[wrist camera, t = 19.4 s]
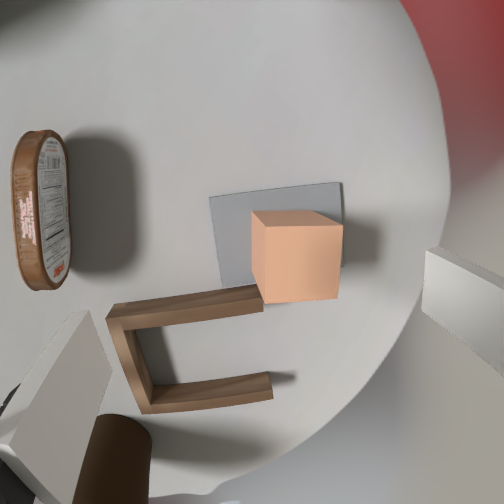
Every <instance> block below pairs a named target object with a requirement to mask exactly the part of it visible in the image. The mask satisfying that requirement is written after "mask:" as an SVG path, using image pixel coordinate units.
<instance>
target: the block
mask: <svg viewBox="0 0 504 504" xmlns="http://www.w3.org/2000/svg"><path fill="white" fill-rule="evenodd" d="M251 218H252V273H253V276H254V278H255V281H256V283H257V286H258V288H259V291H260V293H261V296H262V298H263V301H264V303H265V304H270V303H286V302H300V301H313V300H326V299H337V298H338V288H339V277H340V266H341V253H342V238H343V225H341V224H339V223H337V222H335V221H333V220H331V219H329V218H327V217H325V216H323V215H320V214H318V213H316V212H314V211H312V210H287V211H251Z"/></svg>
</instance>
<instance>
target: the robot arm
mask: <svg viewBox="0 0 504 504" xmlns="http://www.w3.org/2000/svg"><path fill="white" fill-rule="evenodd" d="M421 310H422V311H423V312H424V313H426V314H427V315H428V316H430V317H431V318H432V319H434V320H435V321H436V322H437V323H439V324H440V325H441V326H442V327H444V328H445V329H446V330H447V331H449V332H450V333H451V334H452V335H454V336H455V337H456V338H458V339H459V340H460V341H461V342H462V343H464V344H465V345H466V346H467V347H469V348H470V349H471V350H472V351H473V352H475V353H476V354H477V355H478V356H479V357H481V358H482V359H483V360H484V361H486V362H487V363H488V364H489V365H490V366H491V367H493V368H494V369H495V370H496V371H497V372H498V373H500V374H501V375H502V376H503V377H504V278H503V277H501V276H499V275H497V274H495V273H493V272H491V271H489V270H487V269H485V268H483V267H481V266H479V265H477V264H474V263H473V262H470V261H468V260H466V259H464V258H462V257H460V256H458V255H455V254H453V253H451V252H449V251H447V250H445V249H442V248H440V247H437V248H432V249H428V250H426V254H425V272H424V286H423V298H422V307H421ZM111 374H112V369H111V366H110V364H109V362H108V359H107V357H106V354H105V352H104V349H103V347H102V344H101V342H100V339H99V336H98V334H97V331H96V328H95V326H94V323H93V320H92V317H91V314H90V311H89V310H84V311H77V312H72V313H71V314H70V315H69V316H68V318H67V319H66V320H65V322H64V323H63V324H62V326H61V327H60V328H59V330H58V331H57V332H56V334H55V335H54V337H53V338H52V339H51V341H50V342H49V343H48V345H47V346H46V348H45V349H44V351H43V352H42V353H41V355H40V356H39V358H38V359H37V361H36V362H35V363H34V365H33V366H32V368H31V369H30V371H29V372H28V374H27V375H26V377H25V378H24V380H23V381H22V383H20V384H19V385H18V386H17V387H16V388H15V389H13V390H12V391H11V392H10V393H9V395H8V396H7V398H6V399H5V401H4V403H3V406H1V407H0V504H33V502H34V499H35V496H36V497H37V498H38V499H39V500H40V501H41V502H42V503H44V504H72V501H73V497H74V493H75V489H76V485H77V481H78V477H79V474H80V470H81V467H82V463H83V459H84V456H85V453H86V449H87V446H88V442H89V439H90V436H91V433H92V430H93V426H94V423H95V420H96V417H97V414H98V411H99V408H100V405H101V402H102V399H103V396H104V393H105V390H106V388H107V385H108V382H109V379H110V376H111Z"/></svg>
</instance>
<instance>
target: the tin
mask: <svg viewBox="0 0 504 504" xmlns="http://www.w3.org/2000/svg"><path fill="white" fill-rule="evenodd" d="M11 205H12V218H13V230H14V241H15V249H16V257H17V263H18V267H19V271H20V274H21V276H22V278H23V280H24V282H25V284H26V285H27V286H28V287H29V288H30V289H32V290H34V291H39V290H56V289H58V288H59V287H60V286H61V285H62V284H63V282H64V280H65V279H66V277H67V275H68V272H69V268H70V261H71V232H70V215H69V188H68V160H67V154H66V149H65V146H64V143H63V140H62V138H61V137H60V136H59V135H58V134H57V133H56V132H54V131H53V130H41V131H29V132H27V133H25V134H24V135H23V136H22V137H21V138H20V140H19V141H18V143H17V145H16V148H15V150H14V154H13V158H12V163H11Z"/></svg>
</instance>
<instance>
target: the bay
mask: <svg viewBox="0 0 504 504" xmlns="http://www.w3.org/2000/svg"><path fill="white" fill-rule="evenodd" d="M257 312H263V304H262V297H261V294H260V292H259V289H258V287H257V284H253V285H247V286H241V287H234V288H228V289H221V290H214V291H208V292H201V293H194V294H187V295H180V296H173V297H165V298H158V299H151V300H143V301H135V302H128V303H120V304H114V305H113V307H112V309H111V310H110V312H109V313H108V315H107V317H106V318H105V319H106V322H107V326H108V329H109V332H110V335H111V337H112V340H113V343H114V346H115V349H116V352H117V354H118V357H119V360H120V363H121V365H122V368H123V370H124V373H125V376H126V378H127V381H128V383H129V386H130V388H131V390H132V393H133V395H134V397H135V400H136V402H137V404H138V407H139V409H140V411H141V413H142V414H158V413H172V412H184V411H194V410H203V409H212V408H219V407H227V406H234V405H241V404H247V403H253V402H259V401H265V400H270V399H273V390H272V386H271V383H270V379H269V376H268V373H267V372H262V373H256V374H250V375H244V376H237V377H231V378H224V379H217V380H209V381H201V382H193V383H184V384H174V385H163V386H153V383H152V381H151V378H150V375H149V372H148V369H147V366H146V363H145V361H144V358H143V355H142V352H141V348H140V345H139V342H138V339H137V336H136V333H135V329H142V328H151V327H160V326H168V325H176V324H183V323H191V322H198V321H205V320H212V319H219V318H226V317H232V316H239V315H245V314H251V313H257Z"/></svg>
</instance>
